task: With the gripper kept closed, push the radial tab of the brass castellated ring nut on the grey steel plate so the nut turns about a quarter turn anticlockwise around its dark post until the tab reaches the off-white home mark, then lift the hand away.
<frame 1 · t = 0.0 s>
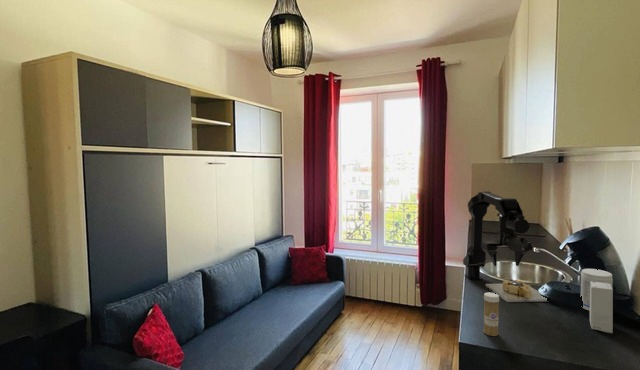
hand: (506, 265, 141), 15 cm above the worktop, fingers open, 9 cm apart
sprinkles bottle: (490, 333, 115), on the worktop
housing: (516, 293, 149), on the worktop
supplement tub: (595, 309, 132), on the worktop
skincare box: (600, 327, 118), on the worktop
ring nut: (519, 288, 147), point 3 cm above the worktop, hinge at 0.0°
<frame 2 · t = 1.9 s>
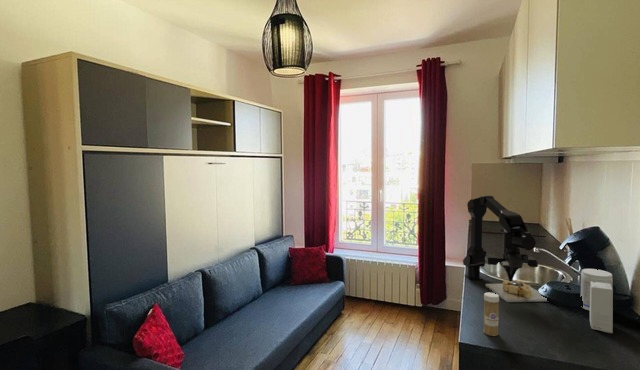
hand: (510, 280, 143), 8 cm above the worktop, fingers closed
nothing on the worktop moved.
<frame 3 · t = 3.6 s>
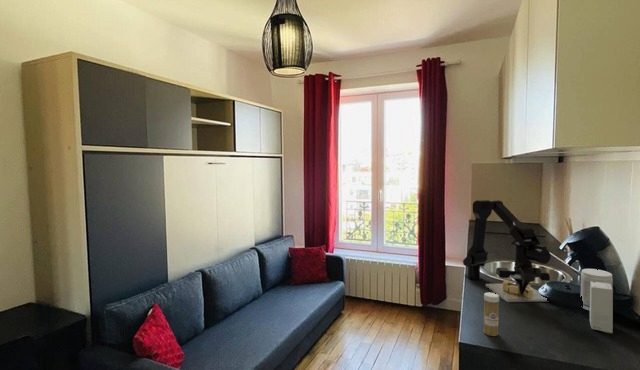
hand: (521, 294, 142), 3 cm above the worktop, fingers closed
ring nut: (519, 288, 147), point 3 cm above the worktop, hinge at 3.0°, touching gripper
everything else where it was.
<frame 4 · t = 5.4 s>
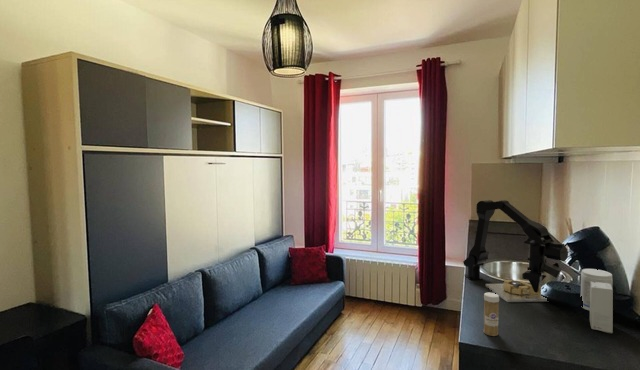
hand: (536, 292, 143), 3 cm above the worktop, fingers closed
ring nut: (521, 287, 148), point 3 cm above the worktop, hinge at 59.6°, touching gripper
everything else where it was.
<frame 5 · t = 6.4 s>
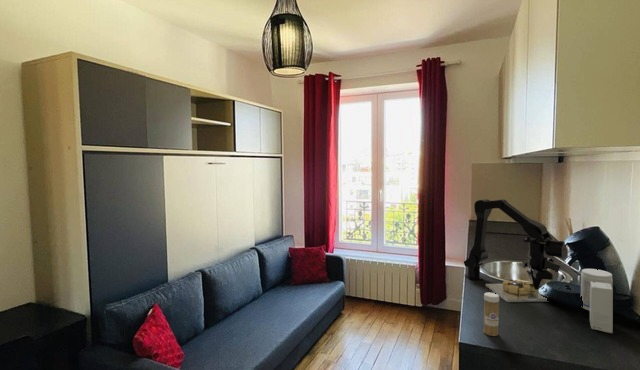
hand: (536, 289, 147), 3 cm above the worktop, fingers closed
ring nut: (520, 286, 149), point 3 cm above the worktop, hinge at 89.8°, touching gripper
everything else where it was.
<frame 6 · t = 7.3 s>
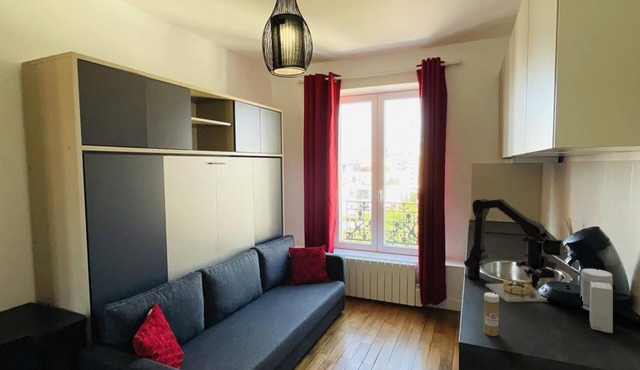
hand: (534, 287, 149), 3 cm above the worktop, fingers closed
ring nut: (520, 286, 149), point 3 cm above the worktop, hinge at 104.9°, touching gripper
everything else where it was.
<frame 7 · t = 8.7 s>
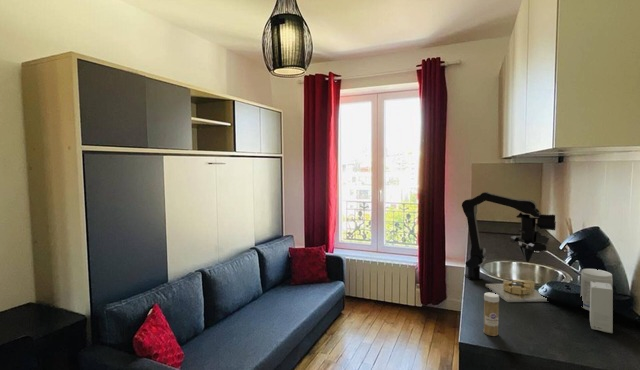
hand: (527, 261, 155), 12 cm above the worktop, fingers closed
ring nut: (519, 286, 149), point 3 cm above the worktop, hinge at 105.4°
everything else where it was.
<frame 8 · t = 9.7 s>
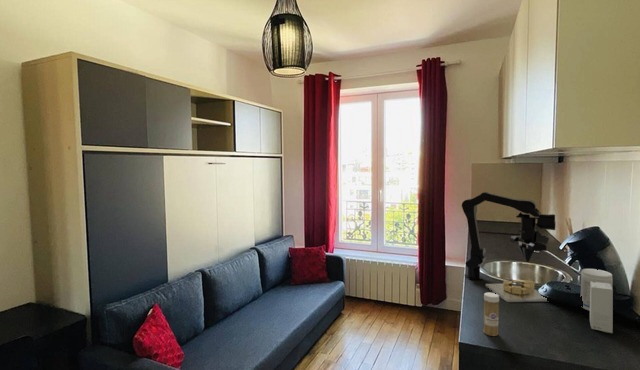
hand: (527, 261, 155), 12 cm above the worktop, fingers closed
nothing on the worktop moved.
at the end: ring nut at +105° (first picture: +0°) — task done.
